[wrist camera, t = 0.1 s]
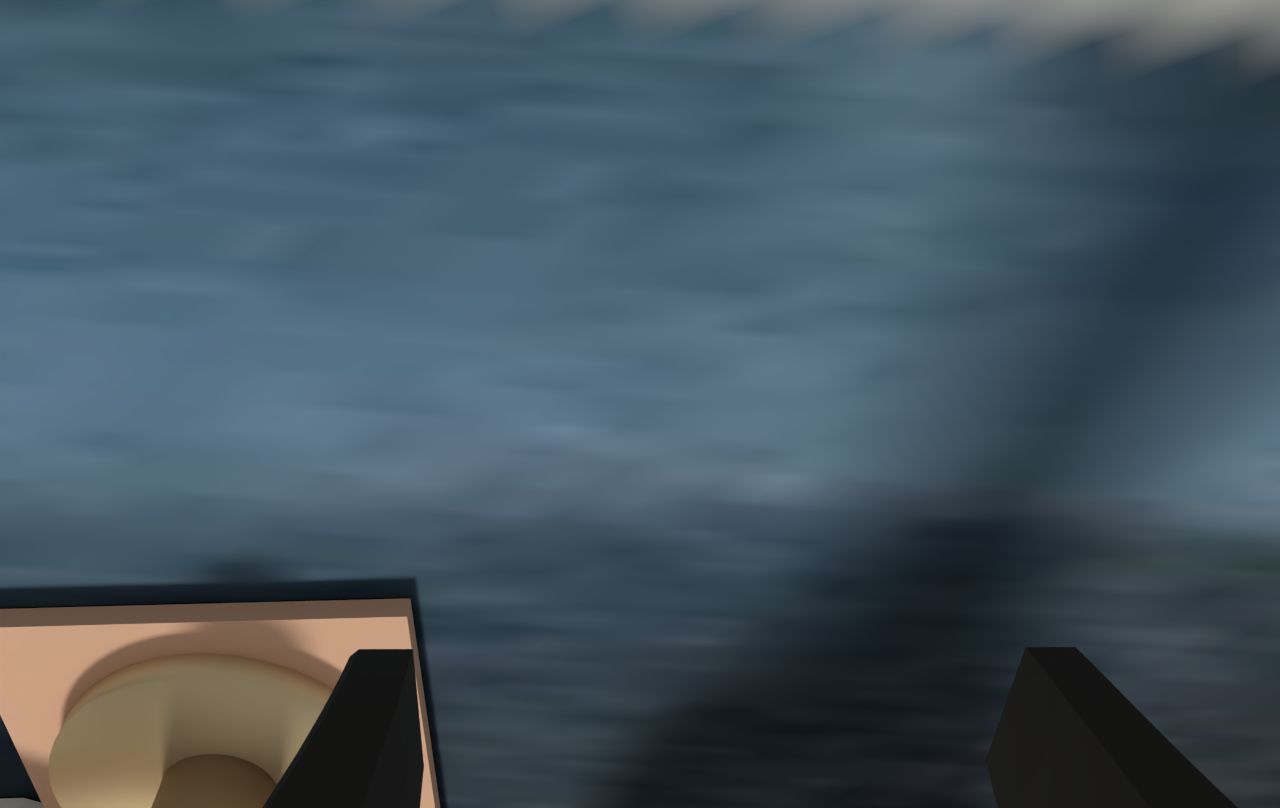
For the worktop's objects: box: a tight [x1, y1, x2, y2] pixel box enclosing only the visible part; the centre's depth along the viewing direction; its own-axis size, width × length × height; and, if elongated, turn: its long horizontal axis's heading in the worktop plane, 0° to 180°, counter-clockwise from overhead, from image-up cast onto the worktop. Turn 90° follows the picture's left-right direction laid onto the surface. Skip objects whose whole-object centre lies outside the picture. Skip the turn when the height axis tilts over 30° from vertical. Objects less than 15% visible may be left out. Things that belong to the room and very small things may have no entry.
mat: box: [0, 598, 440, 808], centre depth 27 cm, size 10×10×1 cm
